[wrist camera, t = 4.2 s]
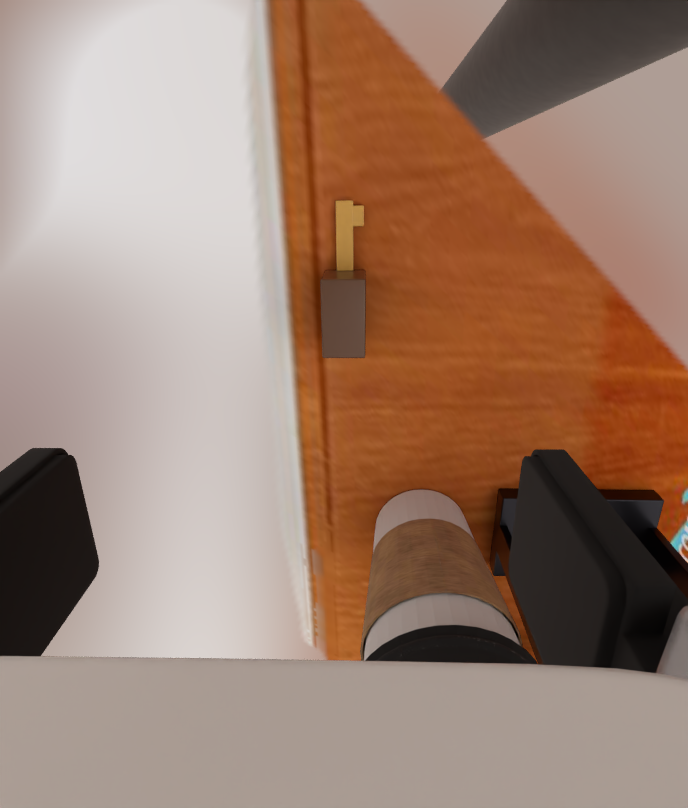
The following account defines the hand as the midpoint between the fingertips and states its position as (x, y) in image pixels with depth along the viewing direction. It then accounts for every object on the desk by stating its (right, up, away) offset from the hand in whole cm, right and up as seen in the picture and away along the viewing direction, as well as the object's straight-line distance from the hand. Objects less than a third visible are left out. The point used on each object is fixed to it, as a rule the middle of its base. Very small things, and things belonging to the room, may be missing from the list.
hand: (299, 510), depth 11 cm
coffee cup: (+6, -6, +23) cm, 25 cm away
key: (+1, +9, +17) cm, 19 cm away
